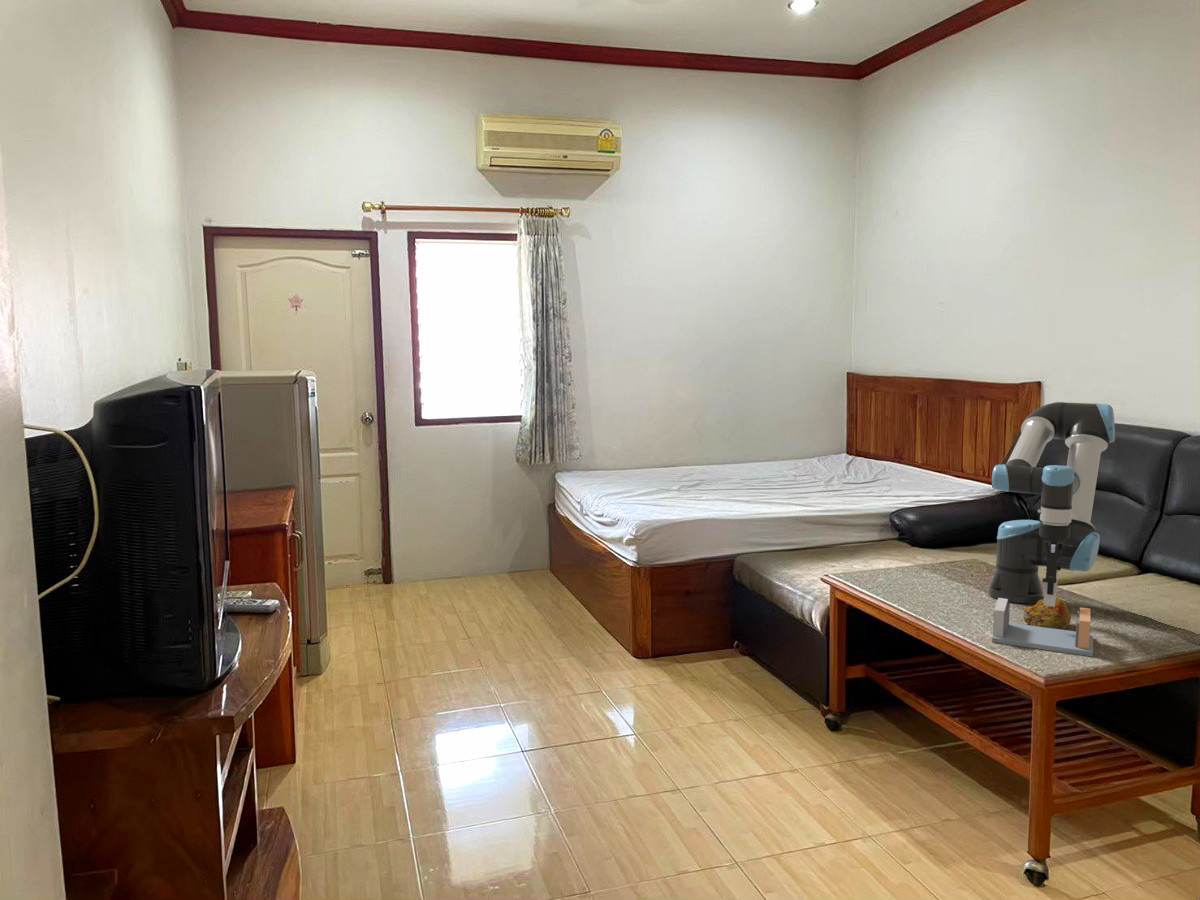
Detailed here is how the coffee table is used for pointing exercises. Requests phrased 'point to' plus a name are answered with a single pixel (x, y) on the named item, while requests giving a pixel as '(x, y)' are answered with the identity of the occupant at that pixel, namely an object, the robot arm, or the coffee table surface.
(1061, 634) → the base
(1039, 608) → the rock
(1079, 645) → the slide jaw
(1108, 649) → the coffee table surface
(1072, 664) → the coffee table surface
